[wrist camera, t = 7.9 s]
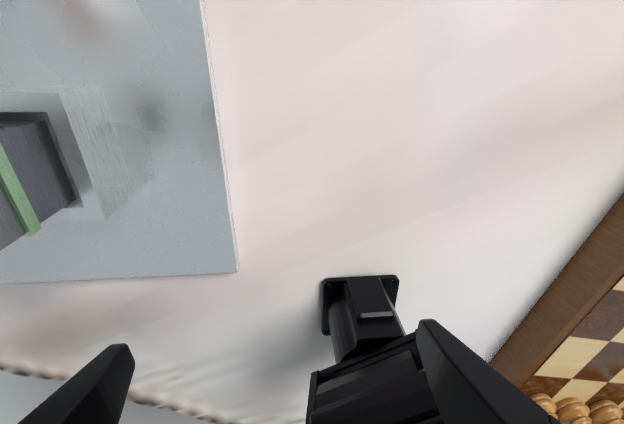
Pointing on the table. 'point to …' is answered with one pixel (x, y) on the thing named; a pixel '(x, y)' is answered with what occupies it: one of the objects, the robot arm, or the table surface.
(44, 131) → the block
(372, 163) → the table surface
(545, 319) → the chess set
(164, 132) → the base
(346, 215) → the table surface
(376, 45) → the table surface
